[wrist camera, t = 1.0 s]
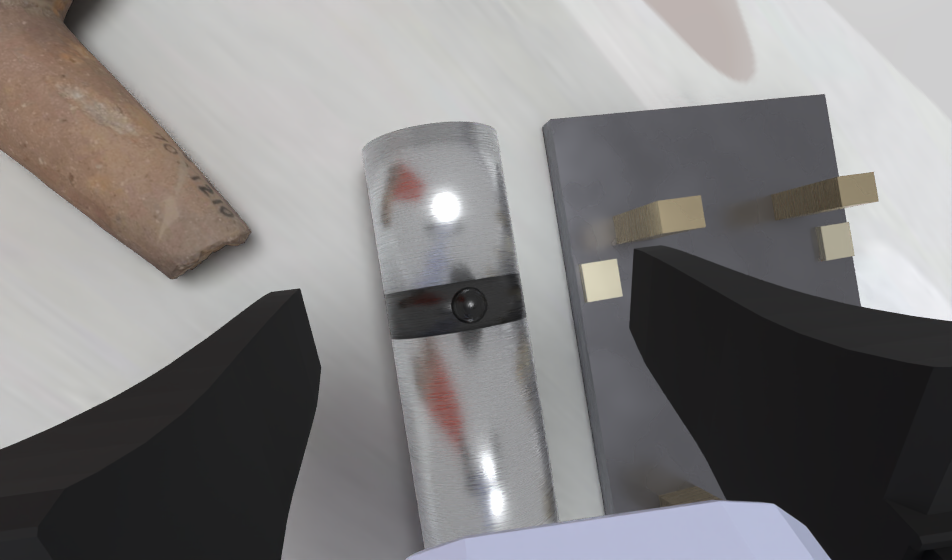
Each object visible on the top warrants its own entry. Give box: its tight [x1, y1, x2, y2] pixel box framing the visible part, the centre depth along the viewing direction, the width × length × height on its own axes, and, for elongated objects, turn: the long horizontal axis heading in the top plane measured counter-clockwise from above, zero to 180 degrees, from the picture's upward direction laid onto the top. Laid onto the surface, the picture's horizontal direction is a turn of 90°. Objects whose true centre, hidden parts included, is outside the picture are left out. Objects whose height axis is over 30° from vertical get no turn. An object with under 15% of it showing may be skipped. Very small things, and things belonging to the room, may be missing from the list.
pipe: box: [0, 0, 251, 279], centre depth 18 cm, size 6×17×10 cm
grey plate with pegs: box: [543, 94, 878, 515], centre depth 23 cm, size 22×14×4 cm, turn 10°
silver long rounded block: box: [362, 122, 560, 549], centre depth 20 cm, size 20×5×6 cm, turn 10°
